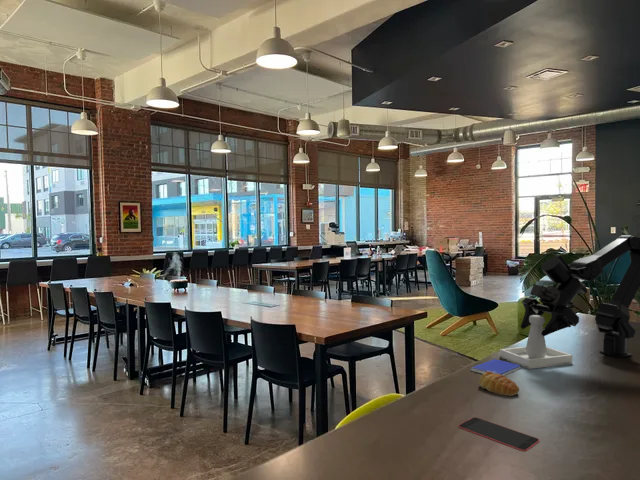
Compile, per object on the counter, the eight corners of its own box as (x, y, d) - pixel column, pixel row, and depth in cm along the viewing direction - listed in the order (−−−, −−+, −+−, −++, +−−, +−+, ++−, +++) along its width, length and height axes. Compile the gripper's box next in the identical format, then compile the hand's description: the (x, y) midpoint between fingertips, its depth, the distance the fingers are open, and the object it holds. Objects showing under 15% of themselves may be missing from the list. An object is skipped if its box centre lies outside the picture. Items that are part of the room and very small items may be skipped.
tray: (540, 352, 147) (540, 344, 147) (572, 363, 136) (572, 355, 136) (499, 357, 142) (499, 349, 142) (528, 369, 131) (529, 360, 130)
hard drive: (498, 374, 123) (520, 364, 131) (470, 366, 129) (493, 358, 137) (498, 379, 123) (520, 370, 131) (470, 372, 129) (493, 363, 137)
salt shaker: (525, 354, 143) (526, 313, 142) (546, 356, 140) (546, 314, 140) (526, 360, 137) (526, 316, 137) (547, 362, 135) (548, 318, 134)
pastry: (525, 394, 112) (525, 378, 112) (508, 400, 108) (508, 384, 108) (493, 382, 120) (493, 368, 120) (475, 388, 116) (475, 373, 116)
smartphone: (524, 451, 83) (456, 425, 93) (524, 454, 83) (456, 428, 93) (541, 439, 88) (474, 416, 98) (541, 442, 88) (474, 418, 98)
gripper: (527, 272, 148) (496, 307, 146) (571, 279, 130) (536, 319, 128) (548, 295, 150) (518, 331, 148) (594, 305, 132) (560, 346, 130)
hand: (531, 331), depth 138 cm, fingers open, 9 cm apart
